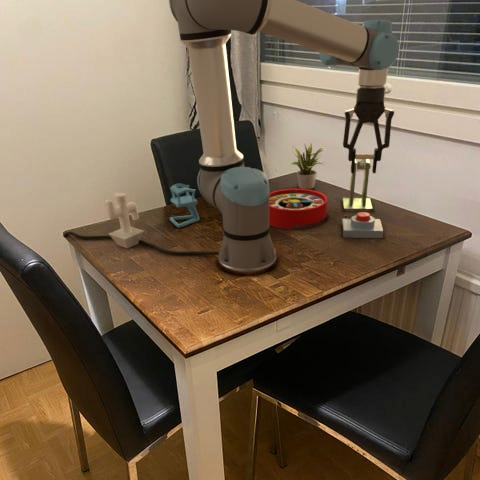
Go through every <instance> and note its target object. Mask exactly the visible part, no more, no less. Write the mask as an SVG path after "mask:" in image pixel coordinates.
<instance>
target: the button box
mask: <svg viewBox="0 0 480 480" xmlns="http://www.w3.org/2000/svg"><path fill="white" fill-rule="evenodd" d="M356 219H357V214H356V215H353V216H351V218H342V219H341V224H342V238H350V239H351V238H354V239H355V238H359V239H383V238H384V228H383V225H382V221H381V218H375V217H373V216H371V215H370V218H369V221H358V220H356Z"/></svg>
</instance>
